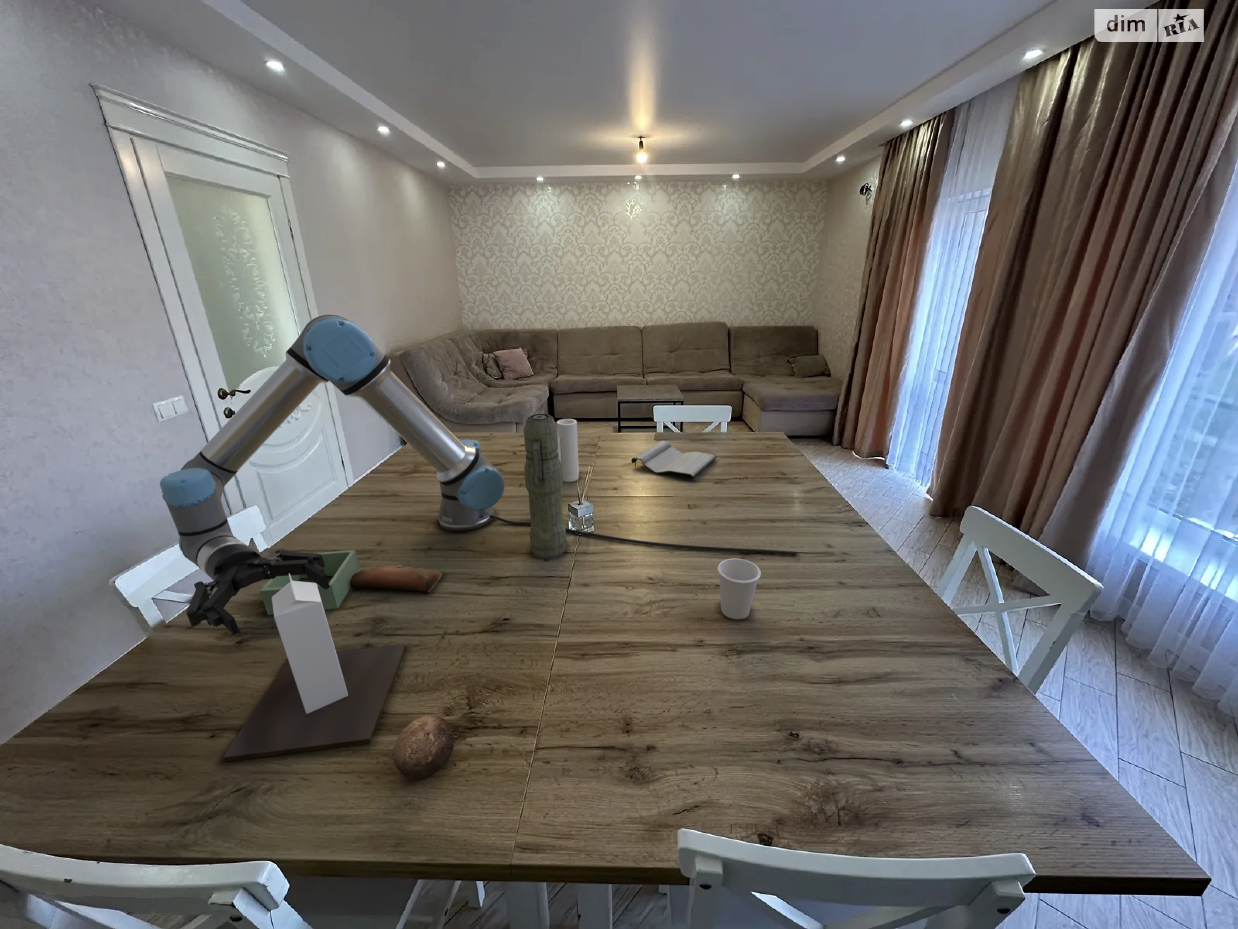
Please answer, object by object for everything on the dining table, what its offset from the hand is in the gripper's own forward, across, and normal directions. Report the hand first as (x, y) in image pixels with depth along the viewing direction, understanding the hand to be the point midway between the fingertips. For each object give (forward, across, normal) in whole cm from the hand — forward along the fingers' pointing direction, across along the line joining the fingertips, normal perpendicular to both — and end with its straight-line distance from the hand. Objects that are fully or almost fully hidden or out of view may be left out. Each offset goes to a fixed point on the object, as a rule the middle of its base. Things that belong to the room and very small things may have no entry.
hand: (283, 603), depth 79 cm
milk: (+8, 0, -15) cm, 17 cm away
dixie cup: (+55, -59, -16) cm, 82 cm away
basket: (-24, -13, -16) cm, 31 cm away
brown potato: (+31, -2, -16) cm, 35 cm away
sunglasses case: (-12, -25, -16) cm, 32 cm away
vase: (-20, -91, -16) cm, 95 cm away
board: (+8, 0, -16) cm, 17 cm away
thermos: (+7, -55, -16) cm, 58 cm away
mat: (+6, -124, -16) cm, 125 cm away
